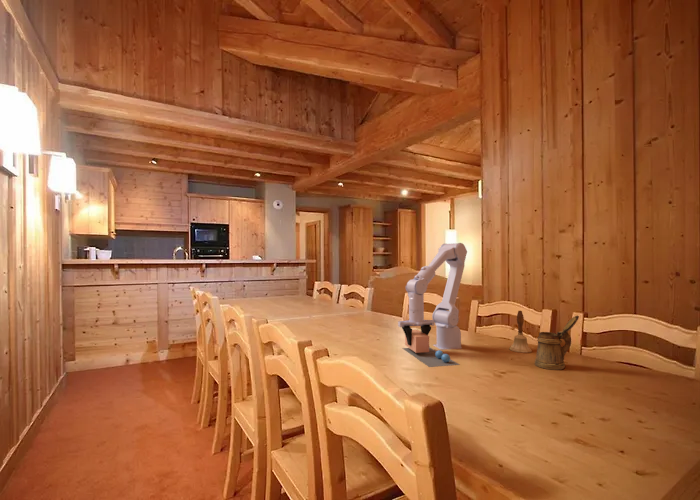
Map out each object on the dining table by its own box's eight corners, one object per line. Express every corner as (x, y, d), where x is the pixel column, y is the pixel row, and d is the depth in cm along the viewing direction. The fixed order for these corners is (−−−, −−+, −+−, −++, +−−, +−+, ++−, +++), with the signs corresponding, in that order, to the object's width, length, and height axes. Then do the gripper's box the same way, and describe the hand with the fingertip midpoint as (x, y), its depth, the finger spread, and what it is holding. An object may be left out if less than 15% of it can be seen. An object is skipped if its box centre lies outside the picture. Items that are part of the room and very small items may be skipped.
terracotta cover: (417, 344, 145) (417, 329, 145) (429, 351, 134) (429, 336, 134) (405, 345, 144) (405, 330, 144) (415, 352, 133) (415, 336, 133)
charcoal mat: (428, 347, 147) (428, 346, 147) (460, 366, 122) (460, 364, 122) (402, 349, 145) (402, 348, 145) (429, 368, 120) (429, 366, 120)
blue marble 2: (447, 360, 127) (447, 352, 127) (451, 363, 124) (451, 354, 124) (439, 361, 126) (439, 352, 126) (443, 363, 123) (443, 355, 123)
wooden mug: (582, 373, 115) (582, 317, 115) (536, 368, 120) (535, 315, 120) (577, 365, 123) (576, 313, 123) (533, 361, 128) (532, 311, 128)
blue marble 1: (441, 357, 131) (441, 349, 132) (445, 359, 129) (445, 351, 129) (433, 357, 131) (433, 349, 131) (437, 360, 128) (437, 351, 128)
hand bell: (536, 352, 139) (535, 312, 140) (514, 352, 139) (514, 312, 140) (525, 347, 147) (525, 309, 148) (505, 347, 148) (505, 309, 148)
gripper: (402, 312, 134) (402, 348, 134) (437, 310, 137) (438, 345, 137) (396, 309, 141) (396, 343, 141) (429, 308, 144) (430, 341, 144)
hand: (416, 344), depth 139 cm, fingers closed on terracotta cover, 5 cm apart
